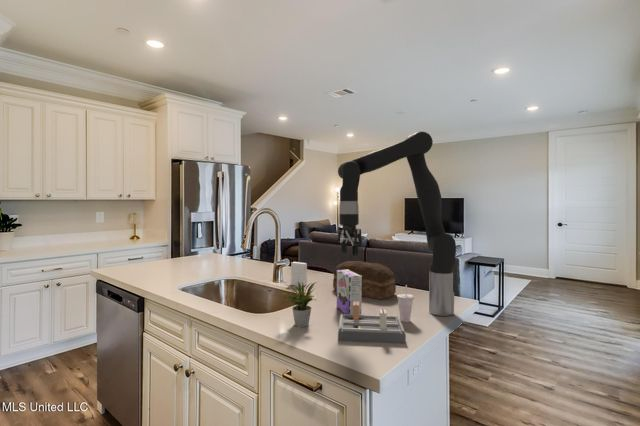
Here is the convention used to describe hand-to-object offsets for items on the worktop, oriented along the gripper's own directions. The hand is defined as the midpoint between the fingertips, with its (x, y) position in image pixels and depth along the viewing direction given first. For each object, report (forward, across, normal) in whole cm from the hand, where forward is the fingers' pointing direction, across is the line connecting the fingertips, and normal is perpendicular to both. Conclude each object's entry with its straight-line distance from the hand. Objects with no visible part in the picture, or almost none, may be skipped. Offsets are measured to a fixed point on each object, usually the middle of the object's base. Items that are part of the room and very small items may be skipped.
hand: (349, 254), depth 137 cm
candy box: (+26, +8, -4) cm, 27 cm away
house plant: (+26, +3, +19) cm, 32 cm away
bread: (+26, +31, -26) cm, 48 cm away
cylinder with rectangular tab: (+26, +60, -3) cm, 65 cm away
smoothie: (+26, -12, -18) cm, 34 cm away
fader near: (+22, -22, 0) cm, 31 cm away
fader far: (+22, -10, +3) cm, 24 cm away
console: (+26, -16, +1) cm, 30 cm away
